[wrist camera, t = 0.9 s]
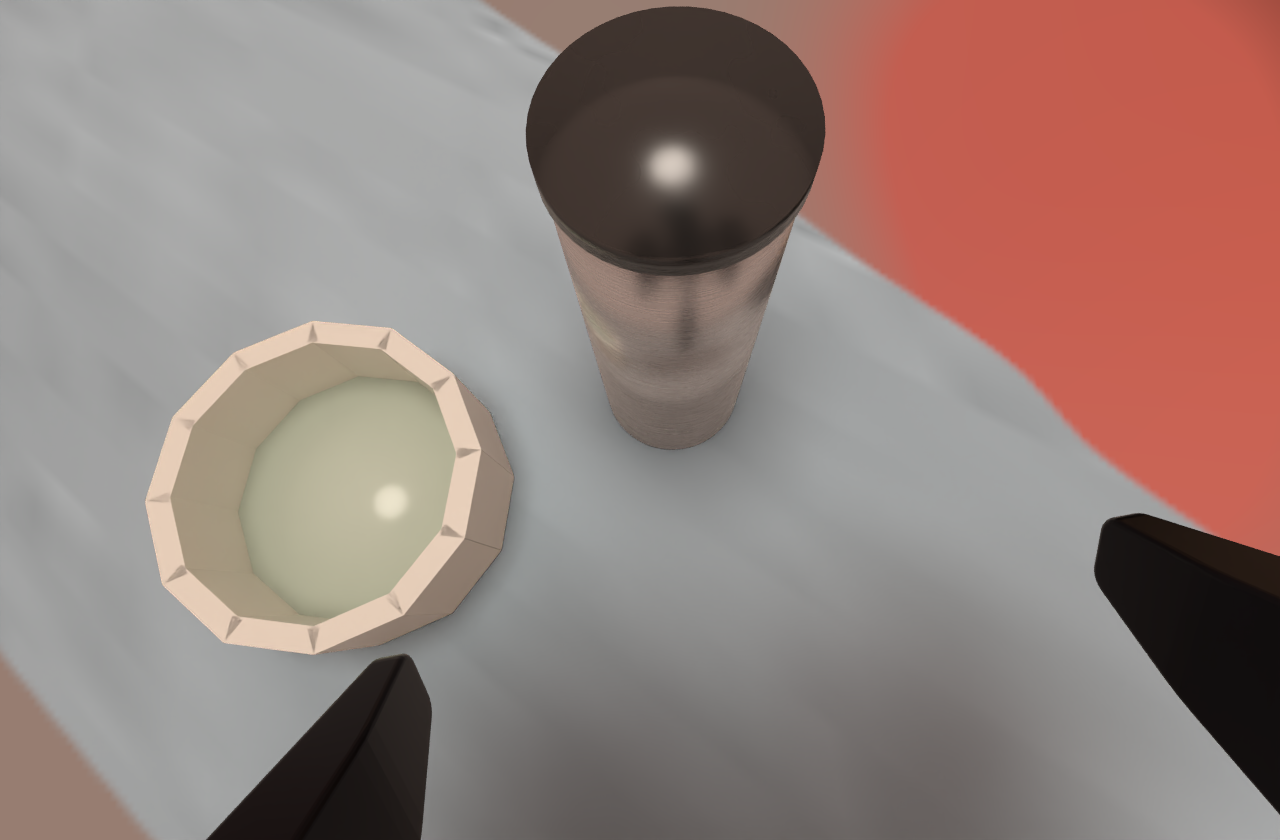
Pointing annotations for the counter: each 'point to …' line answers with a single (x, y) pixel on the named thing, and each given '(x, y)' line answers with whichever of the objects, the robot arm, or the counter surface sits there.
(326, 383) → the bowl
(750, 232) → the canister
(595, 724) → the counter surface
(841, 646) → the counter surface
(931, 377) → the counter surface
